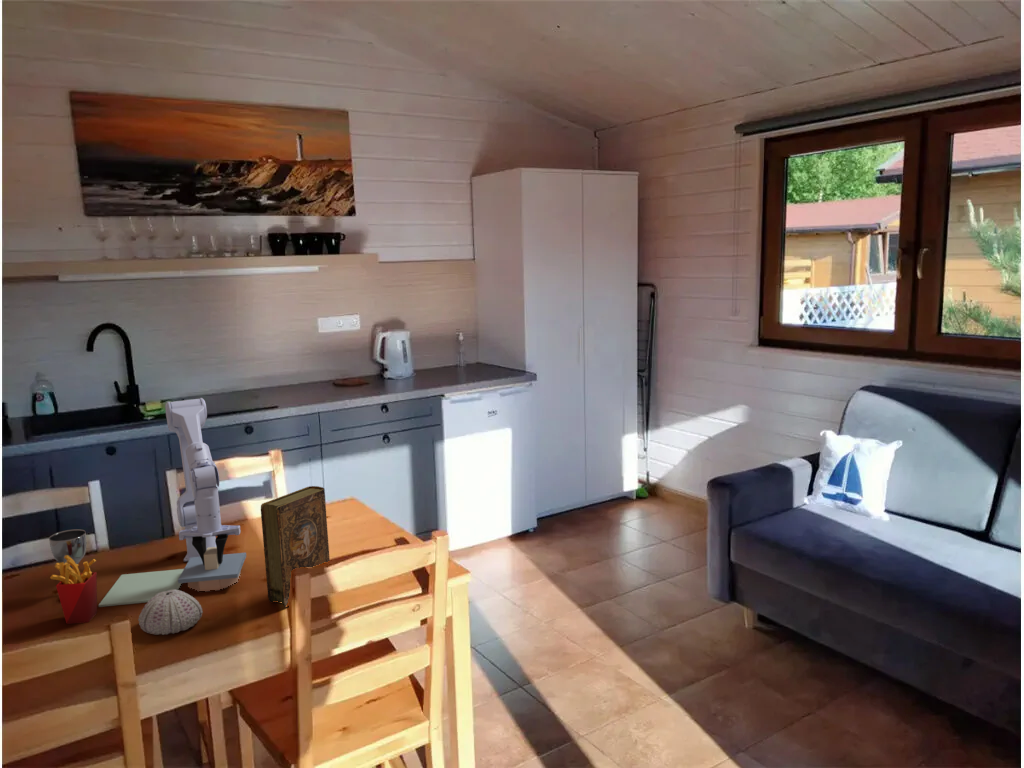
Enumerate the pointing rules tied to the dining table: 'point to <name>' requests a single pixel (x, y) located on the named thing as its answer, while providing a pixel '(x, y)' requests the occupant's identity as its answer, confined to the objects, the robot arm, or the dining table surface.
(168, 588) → the mat
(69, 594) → the french fries
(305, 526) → the book
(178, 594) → the sea urchin shell
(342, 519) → the dining table surface
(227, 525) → the robot arm
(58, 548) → the silver goblet
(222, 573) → the lid
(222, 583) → the bowl
